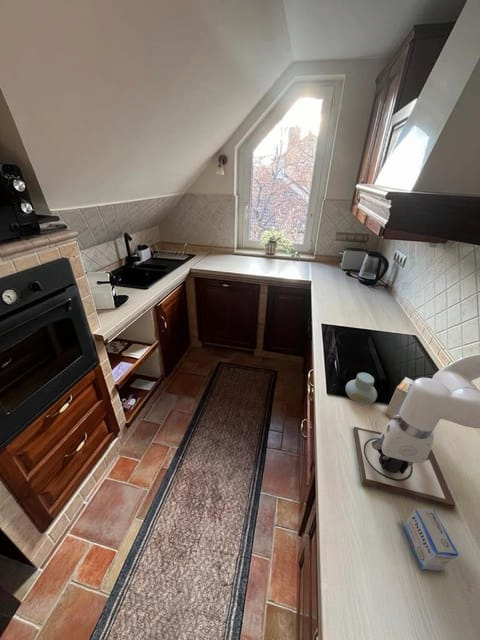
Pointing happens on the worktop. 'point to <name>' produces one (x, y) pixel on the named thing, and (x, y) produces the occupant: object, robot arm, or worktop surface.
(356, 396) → the air freshener
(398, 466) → the cylinder
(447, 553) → the medicine box
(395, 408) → the supplement box
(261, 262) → the worktop surface
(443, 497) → the sketch board
